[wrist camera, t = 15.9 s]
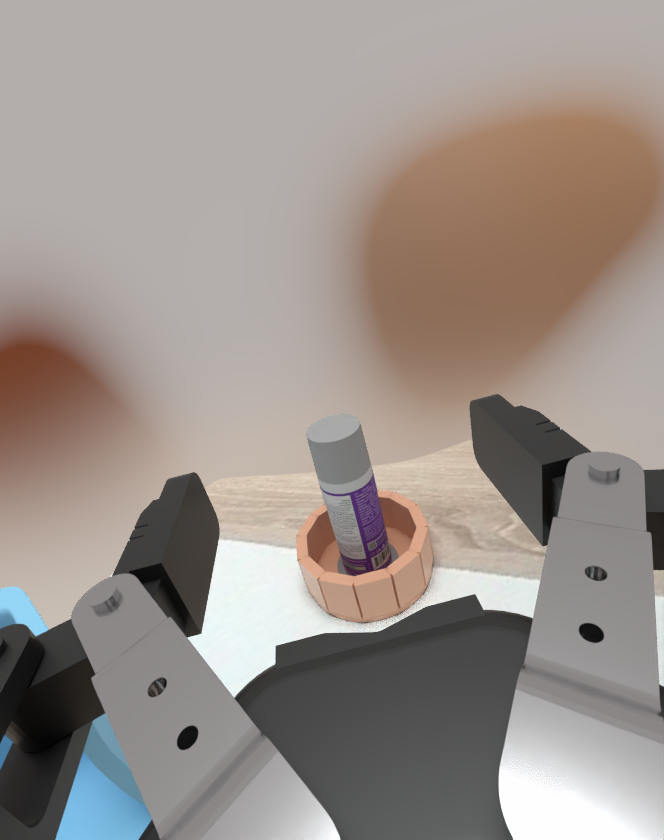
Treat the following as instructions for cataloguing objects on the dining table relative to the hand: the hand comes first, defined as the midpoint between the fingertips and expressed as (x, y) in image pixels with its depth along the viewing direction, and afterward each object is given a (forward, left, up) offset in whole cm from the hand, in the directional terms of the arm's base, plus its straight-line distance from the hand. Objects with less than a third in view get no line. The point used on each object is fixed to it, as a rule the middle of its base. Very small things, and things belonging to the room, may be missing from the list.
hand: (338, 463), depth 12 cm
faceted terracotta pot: (0, -20, -25) cm, 32 cm away
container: (0, -20, -24) cm, 32 cm away
